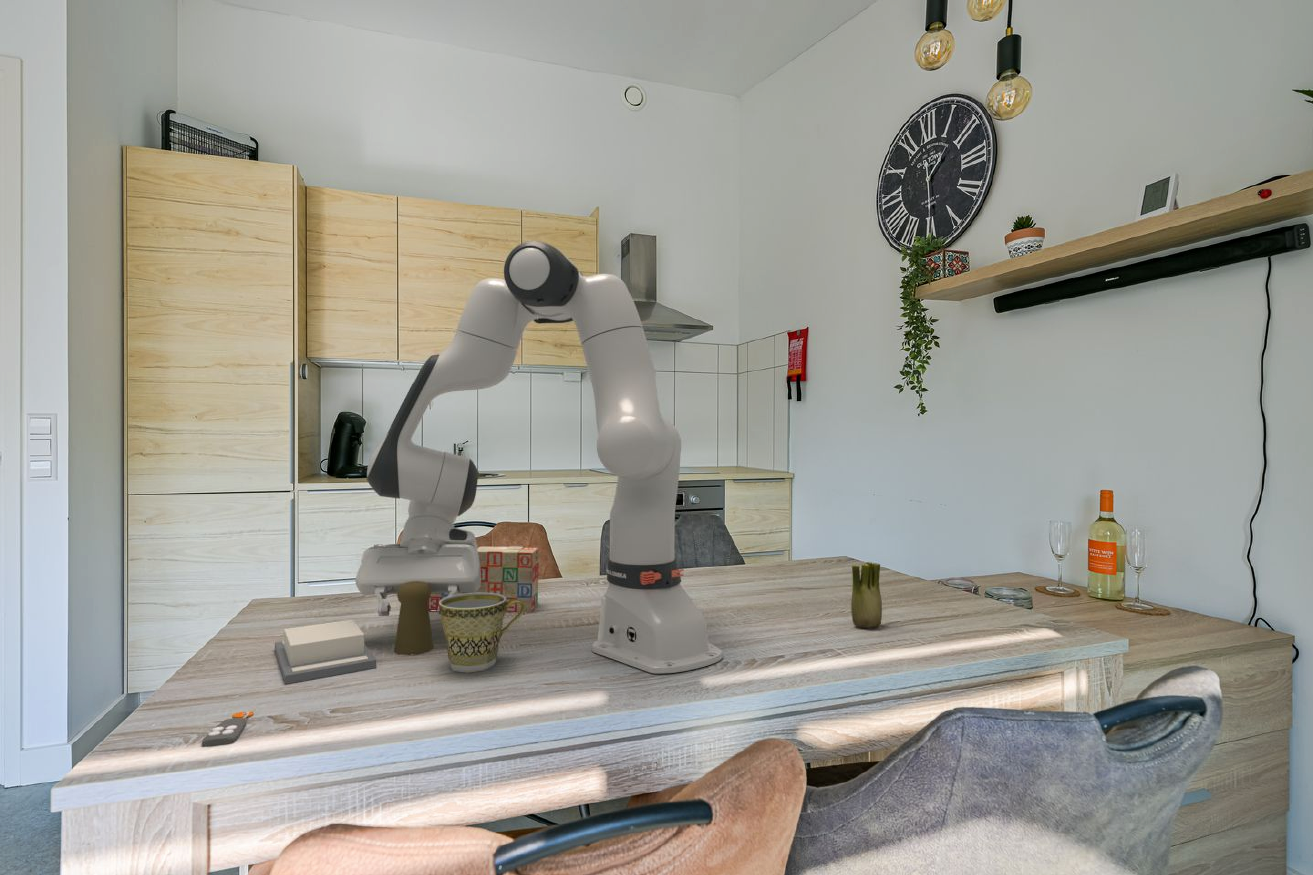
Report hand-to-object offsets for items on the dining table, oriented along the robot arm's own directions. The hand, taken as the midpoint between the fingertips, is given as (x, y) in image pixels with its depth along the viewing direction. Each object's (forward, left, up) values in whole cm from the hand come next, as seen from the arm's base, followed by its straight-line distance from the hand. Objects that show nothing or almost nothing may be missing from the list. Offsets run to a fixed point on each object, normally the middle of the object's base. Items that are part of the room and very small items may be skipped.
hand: (413, 613), depth 107 cm
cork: (0, 0, -6) cm, 6 cm away
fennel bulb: (-33, -73, -6) cm, 80 cm away
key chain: (-16, +25, -7) cm, 30 cm away
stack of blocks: (+19, -19, -6) cm, 28 cm away
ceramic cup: (-13, -7, -6) cm, 16 cm away
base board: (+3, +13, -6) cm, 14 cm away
